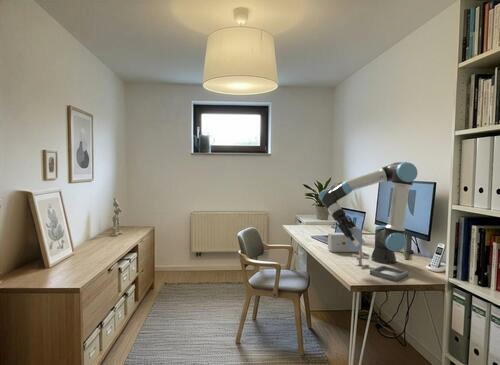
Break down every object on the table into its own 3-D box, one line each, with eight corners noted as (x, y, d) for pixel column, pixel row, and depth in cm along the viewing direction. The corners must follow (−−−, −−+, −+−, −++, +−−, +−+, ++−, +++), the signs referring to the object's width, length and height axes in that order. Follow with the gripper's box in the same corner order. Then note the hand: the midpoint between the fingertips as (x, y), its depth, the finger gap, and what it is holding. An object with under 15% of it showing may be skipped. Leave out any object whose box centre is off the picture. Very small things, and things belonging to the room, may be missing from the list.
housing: (382, 269, 199) (382, 265, 198) (408, 276, 187) (408, 271, 187) (369, 274, 189) (369, 270, 189) (395, 281, 177) (396, 277, 177)
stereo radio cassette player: (355, 250, 245) (356, 223, 244) (359, 252, 237) (360, 225, 236) (327, 249, 244) (328, 222, 243) (330, 252, 236) (331, 224, 235)
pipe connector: (354, 261, 214) (355, 246, 214) (370, 264, 208) (371, 248, 208) (349, 265, 206) (350, 249, 205) (365, 268, 200) (366, 251, 200)
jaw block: (352, 248, 195) (353, 226, 194) (361, 250, 190) (362, 227, 190) (347, 249, 191) (348, 227, 191) (356, 251, 187) (357, 228, 186)
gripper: (341, 214, 207) (364, 245, 196) (323, 217, 196) (347, 250, 184) (349, 207, 203) (373, 238, 192) (331, 209, 191) (356, 242, 180)
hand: (360, 244), depth 188 cm, fingers closed on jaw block, 5 cm apart
